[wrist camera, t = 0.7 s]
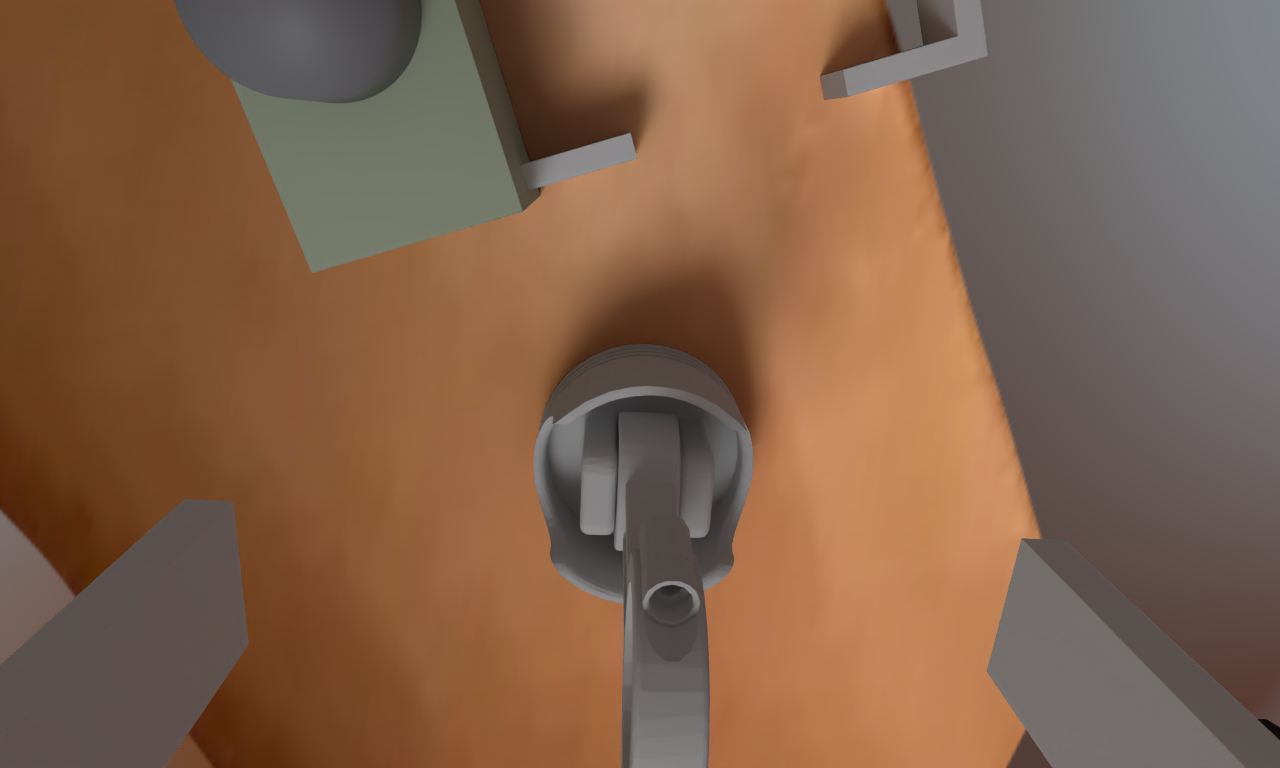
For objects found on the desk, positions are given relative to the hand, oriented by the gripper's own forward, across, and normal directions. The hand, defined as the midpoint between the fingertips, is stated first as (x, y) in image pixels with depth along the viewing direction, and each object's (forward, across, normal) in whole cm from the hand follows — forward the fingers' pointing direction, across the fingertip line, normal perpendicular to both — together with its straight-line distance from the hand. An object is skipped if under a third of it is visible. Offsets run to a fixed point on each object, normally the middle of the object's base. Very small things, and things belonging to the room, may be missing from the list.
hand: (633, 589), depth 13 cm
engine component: (+24, +2, -8) cm, 25 cm away
